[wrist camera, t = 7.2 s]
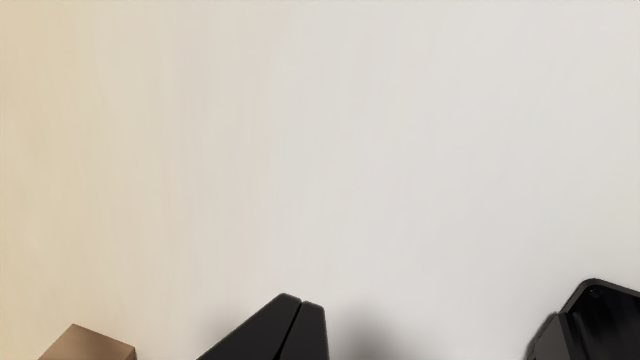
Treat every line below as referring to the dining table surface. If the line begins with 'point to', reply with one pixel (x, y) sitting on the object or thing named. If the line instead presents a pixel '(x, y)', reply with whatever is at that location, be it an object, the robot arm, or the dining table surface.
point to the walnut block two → (87, 347)
